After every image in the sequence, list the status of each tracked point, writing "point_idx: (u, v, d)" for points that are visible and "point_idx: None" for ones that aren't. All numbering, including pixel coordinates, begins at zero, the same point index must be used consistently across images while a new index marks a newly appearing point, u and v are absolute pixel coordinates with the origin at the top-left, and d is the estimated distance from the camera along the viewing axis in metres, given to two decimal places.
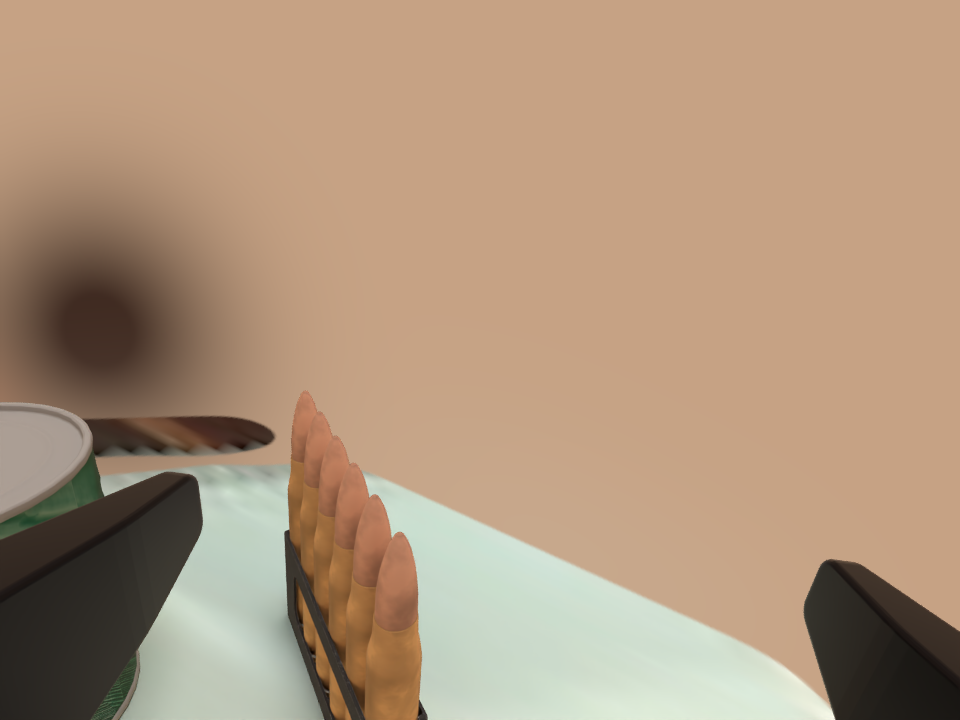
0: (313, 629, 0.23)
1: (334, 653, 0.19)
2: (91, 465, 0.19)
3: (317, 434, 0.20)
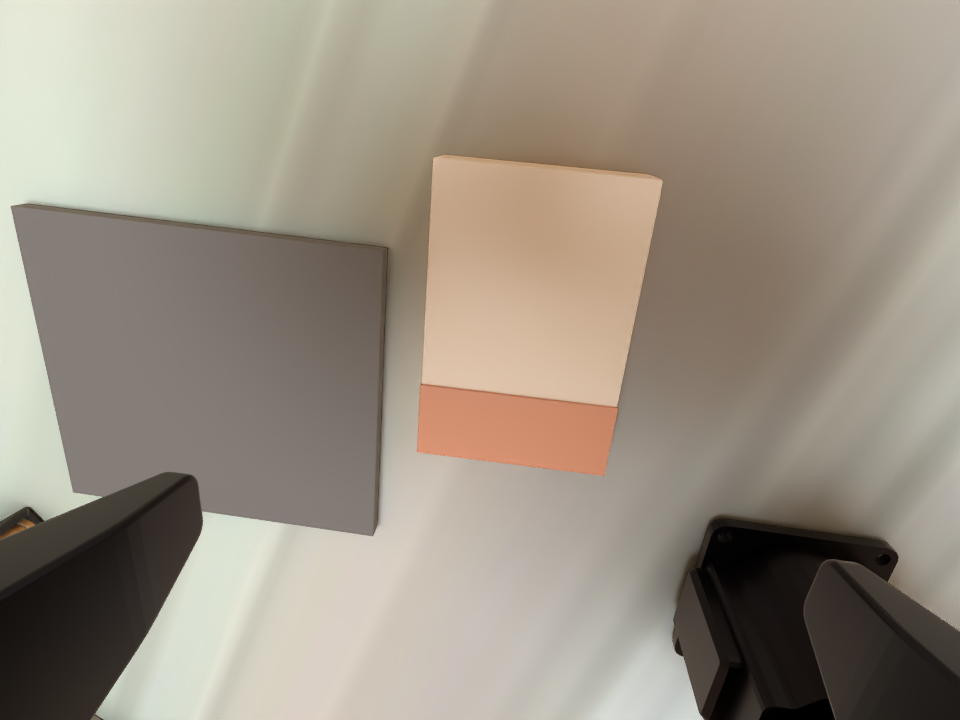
0: None
1: None
2: None
3: None
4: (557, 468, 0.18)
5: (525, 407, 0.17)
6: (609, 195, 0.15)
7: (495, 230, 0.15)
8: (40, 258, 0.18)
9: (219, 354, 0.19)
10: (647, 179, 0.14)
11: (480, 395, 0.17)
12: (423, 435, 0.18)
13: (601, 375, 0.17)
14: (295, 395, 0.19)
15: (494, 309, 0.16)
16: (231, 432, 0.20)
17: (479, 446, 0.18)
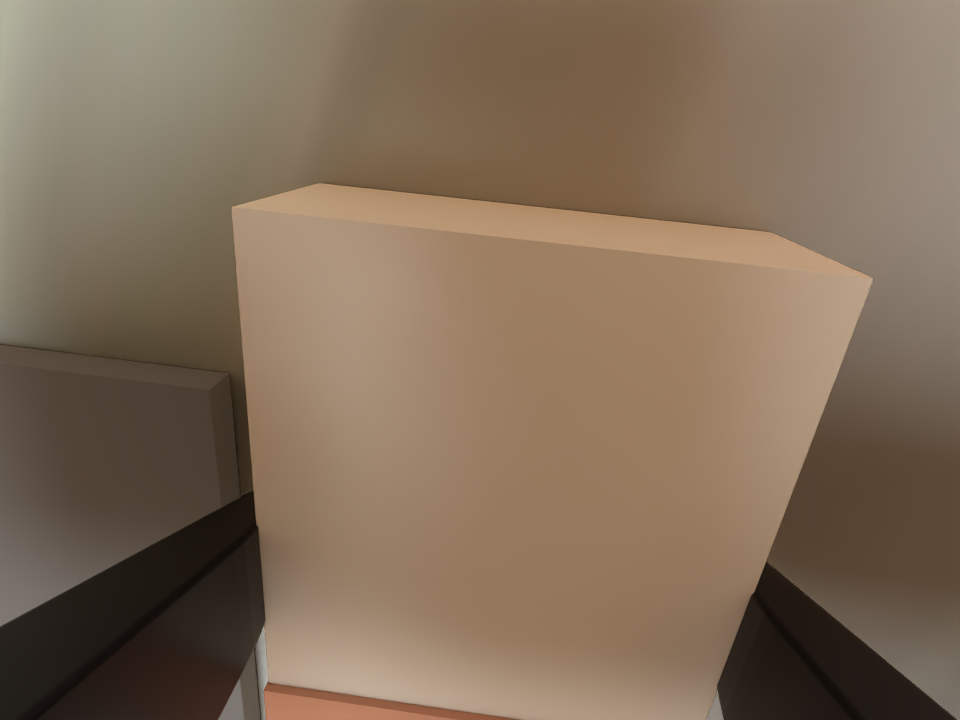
0: None
1: None
2: None
3: None
4: None
5: None
6: (714, 314, 0.05)
7: (410, 390, 0.06)
8: None
9: None
10: (827, 275, 0.05)
11: (396, 714, 0.08)
12: None
13: (666, 689, 0.07)
14: None
15: (419, 555, 0.07)
16: None
17: None
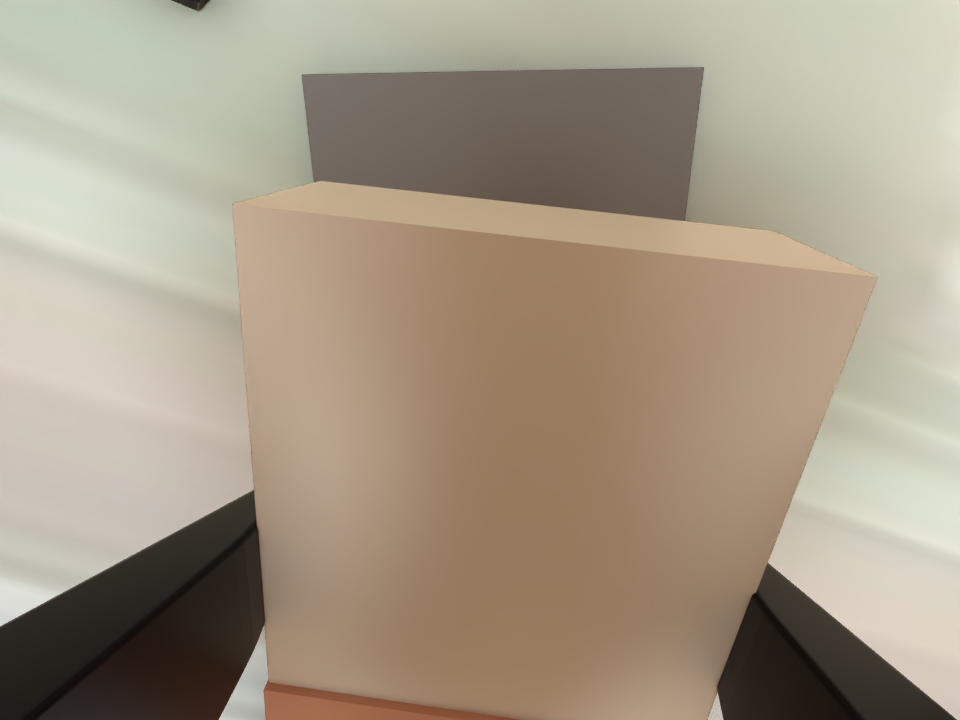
0: None
1: None
2: None
3: None
4: None
5: None
6: (717, 314, 0.05)
7: (411, 388, 0.06)
8: (639, 94, 0.15)
9: None
10: (831, 273, 0.05)
11: (396, 714, 0.08)
12: None
13: (666, 689, 0.07)
14: None
15: (419, 555, 0.07)
16: None
17: None
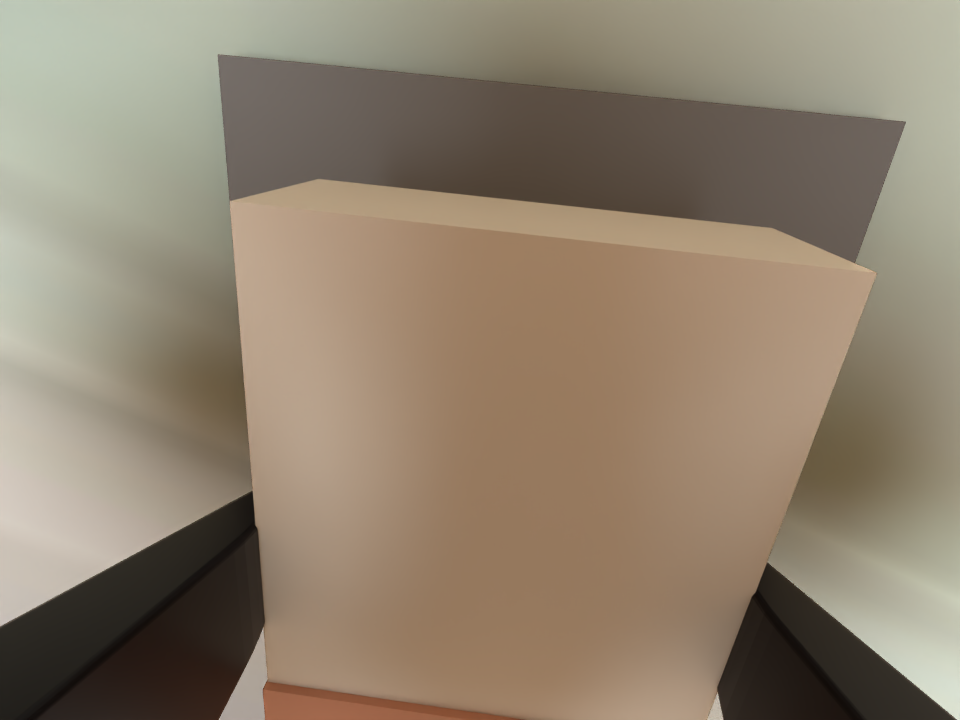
0: None
1: None
2: None
3: None
4: None
5: None
6: (716, 310, 0.05)
7: (410, 387, 0.06)
8: (787, 155, 0.09)
9: None
10: (830, 269, 0.05)
11: (396, 713, 0.08)
12: None
13: (667, 688, 0.07)
14: None
15: (418, 552, 0.07)
16: None
17: None
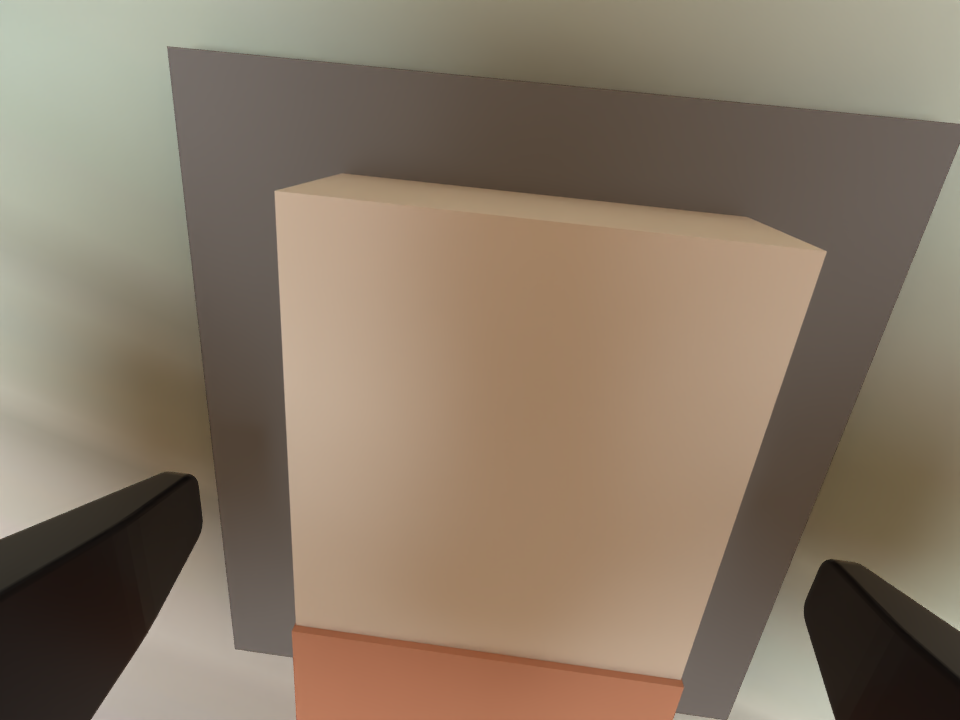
0: None
1: None
2: None
3: None
4: None
5: (499, 670, 0.09)
6: (691, 284, 0.06)
7: (427, 353, 0.07)
8: (827, 163, 0.08)
9: None
10: (787, 248, 0.06)
11: (411, 652, 0.09)
12: (306, 708, 0.09)
13: (653, 627, 0.08)
14: None
15: (433, 504, 0.08)
16: None
17: None
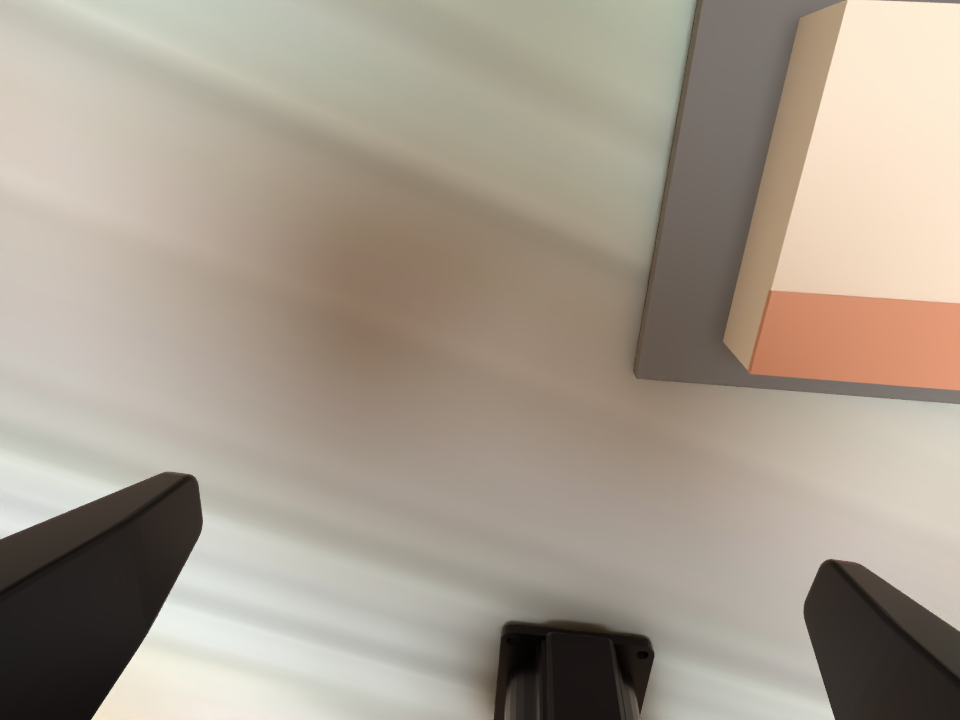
0: None
1: None
2: None
3: None
4: (919, 385, 0.15)
5: (893, 312, 0.15)
6: None
7: (906, 89, 0.13)
8: None
9: None
10: None
11: (844, 299, 0.15)
12: (762, 353, 0.15)
13: None
14: None
15: (883, 191, 0.14)
16: None
17: (828, 362, 0.15)
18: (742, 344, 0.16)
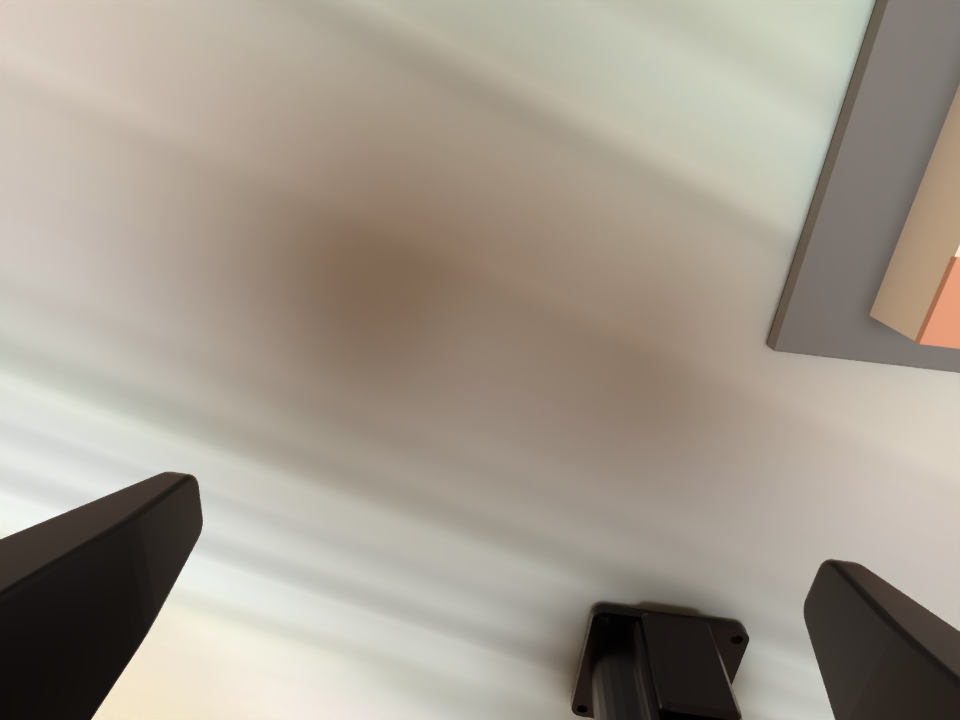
0: None
1: None
2: None
3: None
4: None
5: None
6: None
7: None
8: None
9: None
10: None
11: None
12: (936, 322, 0.15)
13: None
14: None
15: None
16: None
17: None
18: (904, 315, 0.16)
